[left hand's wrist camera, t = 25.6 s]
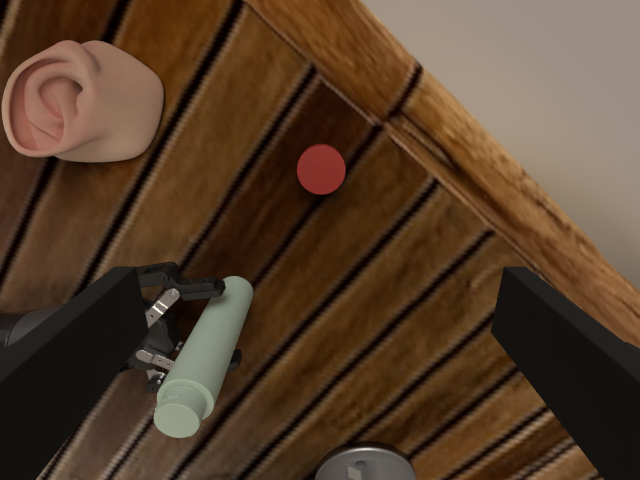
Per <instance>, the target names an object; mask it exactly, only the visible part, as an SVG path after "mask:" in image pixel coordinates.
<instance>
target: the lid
mask: <svg viewBox="0 0 640 480" xmlns="http://www.w3.org/2000/svg"><path fill="white" fill-rule="evenodd" d="M345 171H346V170H345V163H344V160H343V158H342V156H341V154H340V153H339V152H338V151H337V150H336V149H335V148H334V147H332V146H330V145H327V144H316V145H313V146H310V147H309V148H307V149H306V150H305V151H304V152H303V153H302V155H301V157H300V159H299V162H298V165H297V175H298V179H299V181H300V183H301V184H302V186H303V187H304V188H305V189H307V190H308V191H310V192H312V193H314V194H321V195H322V194H328V193H331V192H333V191H334V190H336V189H337V188H338V187H339V186H340V185H341V183H342V182H343V180H344V177H345Z"/></svg>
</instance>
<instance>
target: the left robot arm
mask: <svg viewBox="0 0 640 480" xmlns="http://www.w3.org/2000/svg"><path fill="white" fill-rule="evenodd" d="M148 333H149V328H148V323H147V318H146V313H145V308H144V303H143V298H142V293H141V288H140V284H139V279H138V274H137V269H136V267H114V268H112V269H111V270H110V271H108V272H107V273H106V274H104V275H103V276H102V277H100V278H99V279H98V280H97V281H95V282H94V283H93V284H91V285H90V286H89V287H87V288H86V289H85V290H83V291H82V292H81V293H79V294H78V295H77V296H76V297H74V298H73V299H72V300H70V301H69V302H68V303H66V304H65V305H64V306H62V307H61V308H60V309H58V310H57V311H56V312H55V313H53V314H52V315H51V316H49V317H48V318H47V319H45V320H44V321H43V322H41V323H40V324H39V325H37V326H36V327H35V328H34V329H32V330H31V331H30V332H28V333H27V334H26V335H24V336H23V337H22V338H20V339H19V340H18V341H16V342H15V343H13V344H11V345H9V346H7V347H5V348H3V349H1V350H0V480H36V479H37V477H38V476H39V475H40V473H41V472H42V471H43V469H44V468H45V467H46V466H47V464H48V463H49V462H50V460H51V459H52V458H53V456H54V455H55V454H56V453H57V451H58V450H59V449H60V447H61V446H62V445H63V443H64V442H65V441H66V440H67V438H68V437H69V436H70V434H71V433H72V432H73V430H74V429H75V428H76V427H77V425H78V424H79V423H80V421H81V420H82V419H83V418H84V416H85V415H86V414H87V412H88V411H89V410H90V408H91V407H92V406H93V405H94V403H95V402H96V401H97V399H98V398H99V397H100V395H101V394H102V393H103V392H104V390H105V389H106V388H107V386H108V385H109V384H110V382H111V381H112V380H113V379H114V377H115V376H116V375H117V373H118V372H119V371H120V369H121V368H122V367H123V366H124V364H125V363H126V362H127V360H128V359H129V358H130V356H131V355H132V354H133V353H134V351H135V350H136V349H137V347H138V346H139V345H140V343H141V342H142V341H143V340H144V338H145V337H146V336H147V334H148ZM491 333H492V334H493V336H494V337H495V338H496V340H497V341H498V342H499V343H500V345H501V346H502V347H503V349H504V350H505V351H506V353H507V354H508V355H509V356H510V358H511V359H512V360H513V362H514V363H515V364H516V366H517V367H518V368H519V369H520V371H521V372H522V373H523V375H524V376H525V377H526V379H527V380H528V381H529V382H530V384H531V385H532V386H533V388H534V389H535V390H536V392H537V393H538V394H539V395H540V397H541V398H542V399H543V401H544V402H545V403H546V405H547V406H548V407H549V408H550V410H551V411H552V412H553V414H554V415H555V416H556V418H557V419H558V420H559V421H560V423H561V424H562V425H563V427H564V428H565V429H566V431H567V432H568V433H569V434H570V436H571V437H572V438H573V440H574V441H575V442H576V443H577V445H578V446H579V447H580V449H581V450H582V451H583V453H584V454H585V455H586V456H587V458H588V459H589V460H590V462H591V463H592V464H593V466H594V467H595V468H596V469H597V471H598V472H599V473H600V475H601V476H602V477H603V479H604V480H640V348H638V347H636V346H634V345H632V344H630V343H628V342H624V341H622V340H621V339H620V338H618V337H617V336H616V335H614V334H613V333H612V332H610V331H609V330H608V329H606V328H605V327H604V326H603V325H601V324H600V323H599V322H597V321H596V320H595V319H593V318H592V317H591V316H589V315H588V314H587V313H585V312H584V311H583V310H582V309H580V308H579V307H578V306H576V305H575V304H574V303H572V302H571V301H570V300H568V299H567V298H566V297H564V296H563V295H562V294H561V293H559V292H558V291H557V290H555V289H554V288H553V287H551V286H550V285H549V284H547V283H546V282H545V281H543V280H542V279H541V278H540V277H538V276H537V275H536V274H534V273H533V272H532V271H530V270H529V269H528V268H526V267H504V269H503V274H502V279H501V284H500V288H499V293H498V298H497V303H496V308H495V313H494V318H493V323H492V328H491ZM315 480H416V475H415V471H414V468H413V465H412V463H411V461H410V460H409V459H408V458H407V456H406V455H404V454H403V453H402V452H401V451H399V450H397V449H395V448H393V447H391V446H388V445H385V444H380V443H374V442H360V443H353V444H349V445H345V446H342V447H340V448H338V449H336V450H334V451H332V452H330V453H329V454H328V455H327V456H325V457H324V458H323V459H322V461H321V462H320V463H319V465H318V467H317V469H316V472H315Z"/></svg>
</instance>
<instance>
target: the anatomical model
mask: <svg viewBox="0 0 640 480" xmlns="http://www.w3.org/2000/svg"><path fill="white" fill-rule="evenodd" d="M163 101H164V91H163V86H162V83H161V81H160V79H159V78H158V76H157V75H156V74H155V73H154V72H153V71H152V70H150V69H149V68H148V67H147V66H145V65H144V64H142V63H141V62H140V61H138V60H137V59H135V58H134V57H132V56H131V55H129V54H128V53H126V52H124V51H122V50H120V49H118V48H116V47H114V46H112V45H110V44H108V43H105V42H102V41H89V42H86V43H83V44H79V43H77V42H74V41H70V40H66V41H62V42H59V43H57V44H55V45H54V46H52V47H50V48H48V49H46V50H45V51H43V52H41V53H39V54H37V55H35V56H33V57H31V58H30V59H28V60H26V61H25V62H23V63H22V64H21V65H20V66H19V67H18V68H17V69H16V70H15V71H14V72H13V73H12V75H11V77H10V78H9V80H8V83H7V85H6V88H5V91H4V95H3V101H2V118H3V123H4V127H5V131H6V134H7V137H8V139H9V141H10V143H11V145H12V146H13V147H14V148H15V149H16V150H17V151H18V152H19V153H21V154H23V155H26V156H30V157H48V156H55V157H57V158H60V159H63V160H68V161H77V162H111V161H121V160H127V159H131V158H134V157H136V156H138V155H140V154H141V153H143V152H144V151H145V150H146V149H147V148H148V146H149V145H150V144H151V142H152V140H153V138H154V136H155V134H156V131H157V129H158V125H159V122H160V118H161V113H162V109H163Z"/></svg>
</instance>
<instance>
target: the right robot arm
mask: <svg viewBox="0 0 640 480" xmlns="http://www.w3.org/2000/svg"><path fill="white" fill-rule="evenodd" d="M136 269H137V274H138V279H139V284H140V288H143V287H149V286H155V285H161V284H163V285H164V287H165V288H166V290H165V291H164V292H163V293H162V294H161V295H160V296H159V297H158V298H157V299H156V300H155V301H154V302H152V301H150V300H148V299H146V298H143V297H142V298H143V303H144V308H145V313H146V318H147V323H148V328H149V333H148V334H147V336H146V337H145V338H144V340H143V341H142V342H141V343H140V345H139V346H138V347H137V349H136V350H135V351H134V353H133V354H132V355H131V356H130V358H129V359H128V360H127V362H126V363H125V364H124V366H123V367H122V368H121V369H120V371H119V372H118V373H121V372H123V371H126V370H129V369H132V368H138V369H142V370H145V371H147V374H148V378H149V382H148V384H147V385H146V391H147V392H149V393H158V391H159V389H160V387H161V385H162V384H163V382H164V380H165V378H166V377H167V375H168V373H169V371H170V370H171V368H172V366H173V364H174V363H175V361H176V359H177V358H173V357H171V356H170V355H171V354H172V353H173V352H174V351H175V349H176V350H178V351H179V353H180V352H181V350H182V348H183V347H184V345H185V343H186V341H185V340H183V339H181V334H180V331H179V329H178V327H177V326H176V318H175V314H174V312H171V311H170V310H169V309H168V308H169V307H170V306H171V305H172V304H173V303H174V302H175V301H176V300H177V299H178V298H180V297H182V298H183V301H186V300H196V299H206V298H216V297H220V296H221V295H222V294H223V293H224V291H225V289H226V286H225V282H224V281H223V280H219V281H218V278H216V277H203V278H194V279H186V278H184V277H182V276H181V275H180V274H179V272H178V271H177V270H178V266H177V264H176V263H174V262H166V263H160V264H154V265H148V266H142V267H136ZM64 305H65V304H63V305H57V306H52V307H48V308H44V309H39V310H31V311H21V312H10V313H1V314H0V350H1V349H3V348H5V347H7V346H9V345H11V344H13V343H15V342H16V341H18V340H19V339H20V338H22V337H23V336H24V335H26V334H27V333H28V332H30V331H31V330H32V329H34V328H35V327H36V326H37V325H39V324H40V323H41V322H43V321H44V320H45V319H47V318H48V317H49V316H51V315H52V314H53V313H55V312H56V311H57V310H58V309H60V308H61V307H62V306H64ZM241 359H242V353H241V350H240V349H234V352H233V355H232V358H231V360H230V363H229V366H228V369H227V372H230V371H233V370H235V368H237V367H238V366H239V365H240V362H241Z"/></svg>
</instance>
